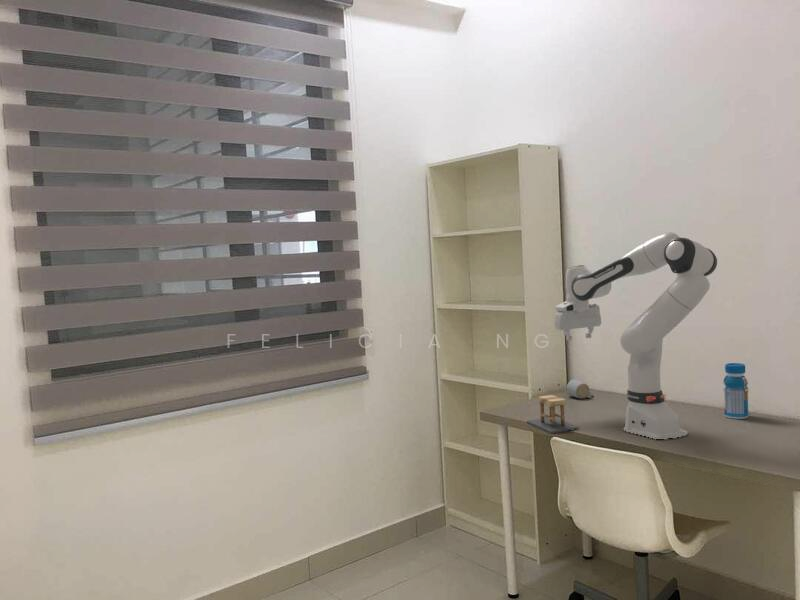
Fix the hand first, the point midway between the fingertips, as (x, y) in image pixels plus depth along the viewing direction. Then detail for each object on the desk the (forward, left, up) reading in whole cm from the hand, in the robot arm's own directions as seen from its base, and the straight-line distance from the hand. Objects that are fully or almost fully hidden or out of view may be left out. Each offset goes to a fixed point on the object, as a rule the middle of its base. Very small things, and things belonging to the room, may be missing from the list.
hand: (578, 339), depth 263 cm
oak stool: (-12, +21, -29) cm, 38 cm away
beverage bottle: (-36, -44, -30) cm, 64 cm away
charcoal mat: (-12, +21, -30) cm, 39 cm away
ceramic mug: (+23, -15, -31) cm, 41 cm away
